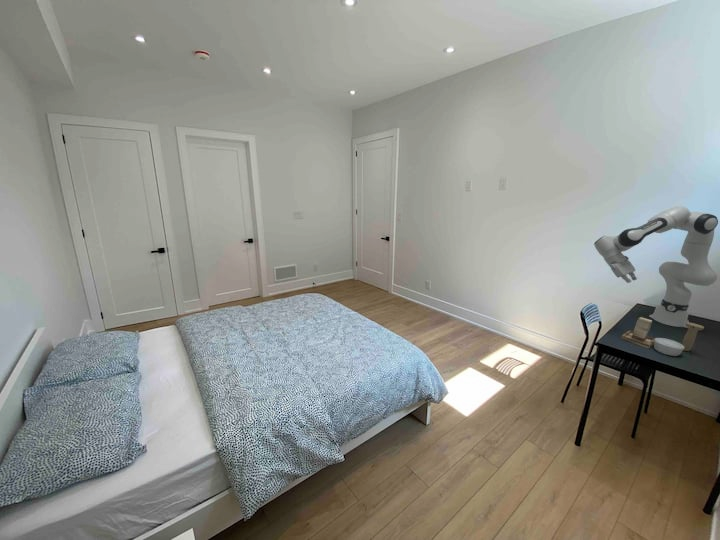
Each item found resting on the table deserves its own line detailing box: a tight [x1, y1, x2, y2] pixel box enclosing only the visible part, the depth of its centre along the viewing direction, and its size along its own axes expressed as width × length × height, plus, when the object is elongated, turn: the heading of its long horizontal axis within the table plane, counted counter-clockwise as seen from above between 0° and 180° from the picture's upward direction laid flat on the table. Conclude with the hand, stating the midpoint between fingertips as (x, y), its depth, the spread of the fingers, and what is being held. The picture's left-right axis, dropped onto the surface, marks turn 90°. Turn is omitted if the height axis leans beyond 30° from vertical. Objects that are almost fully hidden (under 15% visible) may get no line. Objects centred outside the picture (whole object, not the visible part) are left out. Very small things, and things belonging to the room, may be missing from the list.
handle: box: [681, 322, 705, 352], centre depth 157 cm, size 5×6×15 cm
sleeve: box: [632, 316, 653, 342], centre depth 165 cm, size 5×5×12 cm
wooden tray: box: [620, 330, 655, 349], centre depth 167 cm, size 13×12×2 cm
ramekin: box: [653, 337, 685, 357], centre depth 156 cm, size 11×11×5 cm
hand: (632, 281), depth 170 cm, fingers open, 8 cm apart
